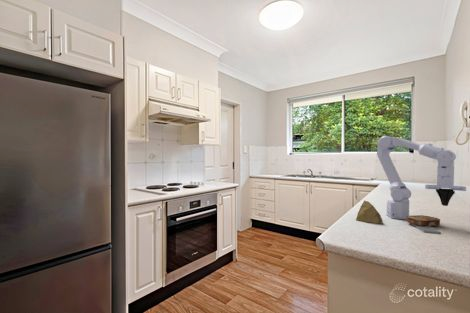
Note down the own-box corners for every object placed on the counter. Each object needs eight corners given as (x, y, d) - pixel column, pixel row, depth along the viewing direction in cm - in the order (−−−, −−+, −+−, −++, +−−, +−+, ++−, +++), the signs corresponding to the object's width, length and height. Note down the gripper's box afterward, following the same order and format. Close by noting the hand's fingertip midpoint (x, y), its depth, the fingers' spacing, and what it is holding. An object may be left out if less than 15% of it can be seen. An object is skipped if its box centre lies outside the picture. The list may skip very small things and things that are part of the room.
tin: (419, 220, 102) (402, 214, 110) (419, 227, 102) (401, 220, 110) (445, 220, 105) (426, 214, 113) (444, 226, 105) (425, 220, 114)
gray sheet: (423, 232, 97) (423, 230, 97) (408, 222, 111) (408, 220, 111) (440, 233, 95) (440, 231, 95) (422, 223, 110) (422, 221, 110)
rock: (389, 218, 110) (369, 210, 119) (384, 205, 107) (364, 199, 116) (375, 233, 107) (356, 224, 116) (370, 221, 104) (351, 213, 113)
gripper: (430, 176, 104) (430, 205, 104) (471, 177, 99) (470, 208, 99) (423, 175, 110) (422, 202, 111) (460, 176, 106) (459, 205, 106)
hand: (444, 205), depth 106 cm, fingers closed
